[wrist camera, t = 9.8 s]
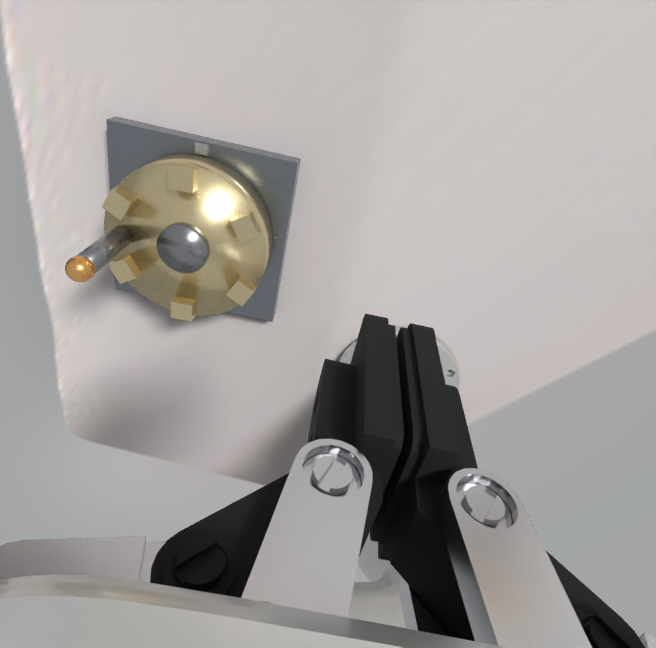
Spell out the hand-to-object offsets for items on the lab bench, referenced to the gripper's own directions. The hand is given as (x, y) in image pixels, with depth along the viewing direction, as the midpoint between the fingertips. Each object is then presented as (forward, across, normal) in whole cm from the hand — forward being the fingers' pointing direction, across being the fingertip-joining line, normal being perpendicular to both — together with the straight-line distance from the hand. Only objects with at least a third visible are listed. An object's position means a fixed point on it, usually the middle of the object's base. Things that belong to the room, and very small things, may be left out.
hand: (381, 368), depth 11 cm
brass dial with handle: (+27, +13, +10) cm, 32 cm away
